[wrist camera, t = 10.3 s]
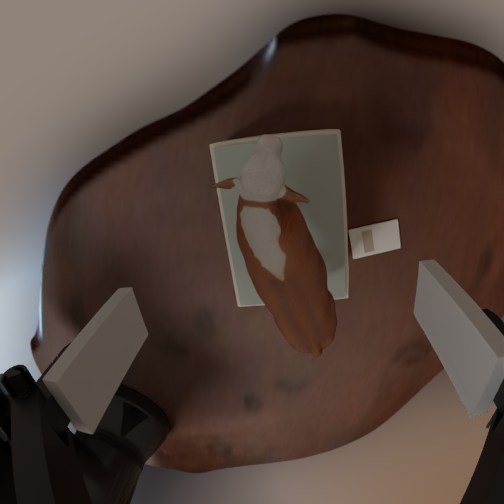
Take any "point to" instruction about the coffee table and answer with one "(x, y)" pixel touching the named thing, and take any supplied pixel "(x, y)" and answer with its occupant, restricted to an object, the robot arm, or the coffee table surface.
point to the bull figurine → (282, 250)
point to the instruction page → (374, 238)
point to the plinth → (307, 184)
